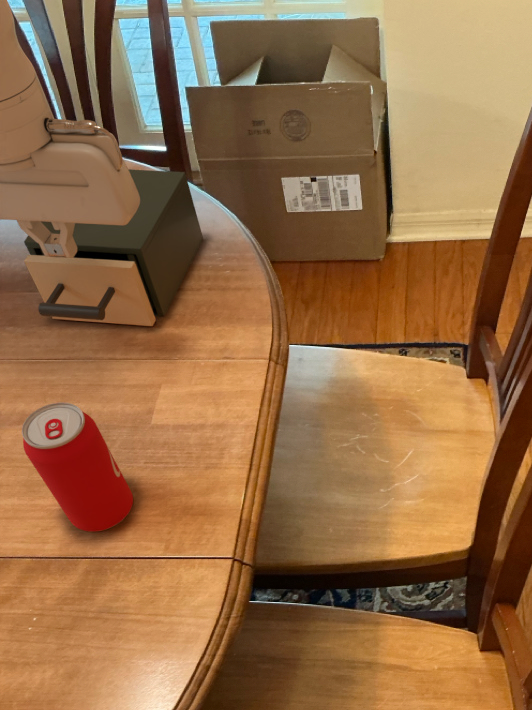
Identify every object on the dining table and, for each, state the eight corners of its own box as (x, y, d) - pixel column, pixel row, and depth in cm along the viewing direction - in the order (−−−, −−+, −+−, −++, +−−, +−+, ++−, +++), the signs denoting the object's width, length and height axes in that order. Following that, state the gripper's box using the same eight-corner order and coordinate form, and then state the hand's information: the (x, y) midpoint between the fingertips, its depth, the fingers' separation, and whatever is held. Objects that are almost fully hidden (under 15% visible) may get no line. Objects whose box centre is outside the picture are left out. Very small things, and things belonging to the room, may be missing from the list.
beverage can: (131, 478, 77) (87, 390, 67) (139, 525, 73) (93, 439, 64) (68, 495, 76) (13, 408, 66) (72, 543, 72) (16, 459, 63)
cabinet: (165, 320, 91) (140, 248, 83) (58, 312, 92) (23, 241, 85) (204, 243, 100) (185, 171, 92) (105, 237, 101) (78, 166, 94)
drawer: (137, 354, 86) (114, 296, 80) (34, 346, 88) (3, 288, 81) (190, 252, 97) (173, 193, 91) (98, 246, 99) (75, 188, 92)
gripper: (122, 104, 69) (166, 241, 81) (-85, 98, 72) (-13, 232, 83) (95, 139, 66) (146, 278, 77) (-121, 131, 68) (-41, 267, 79)
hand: (62, 254), depth 80 cm, fingers closed
